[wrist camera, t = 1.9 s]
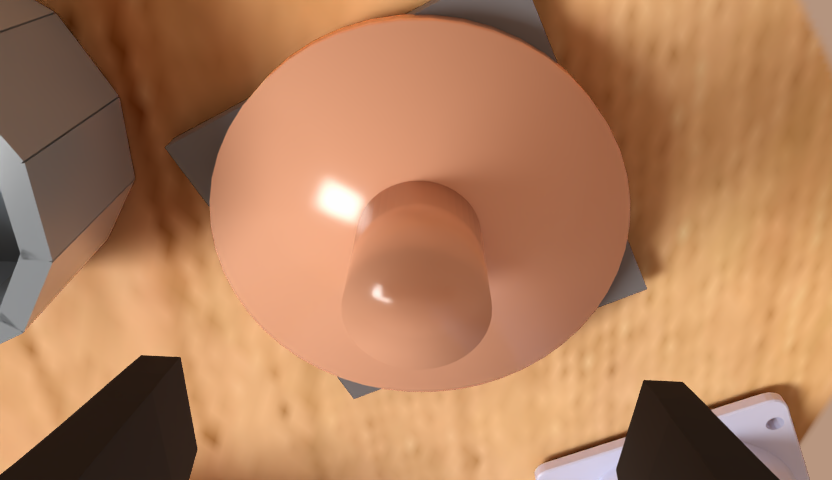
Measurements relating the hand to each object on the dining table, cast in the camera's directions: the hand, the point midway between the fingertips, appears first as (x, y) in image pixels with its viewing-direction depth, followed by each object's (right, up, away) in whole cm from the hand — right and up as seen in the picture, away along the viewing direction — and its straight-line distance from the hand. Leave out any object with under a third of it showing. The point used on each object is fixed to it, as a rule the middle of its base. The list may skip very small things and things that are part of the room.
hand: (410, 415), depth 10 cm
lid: (0, +3, +6) cm, 7 cm away
